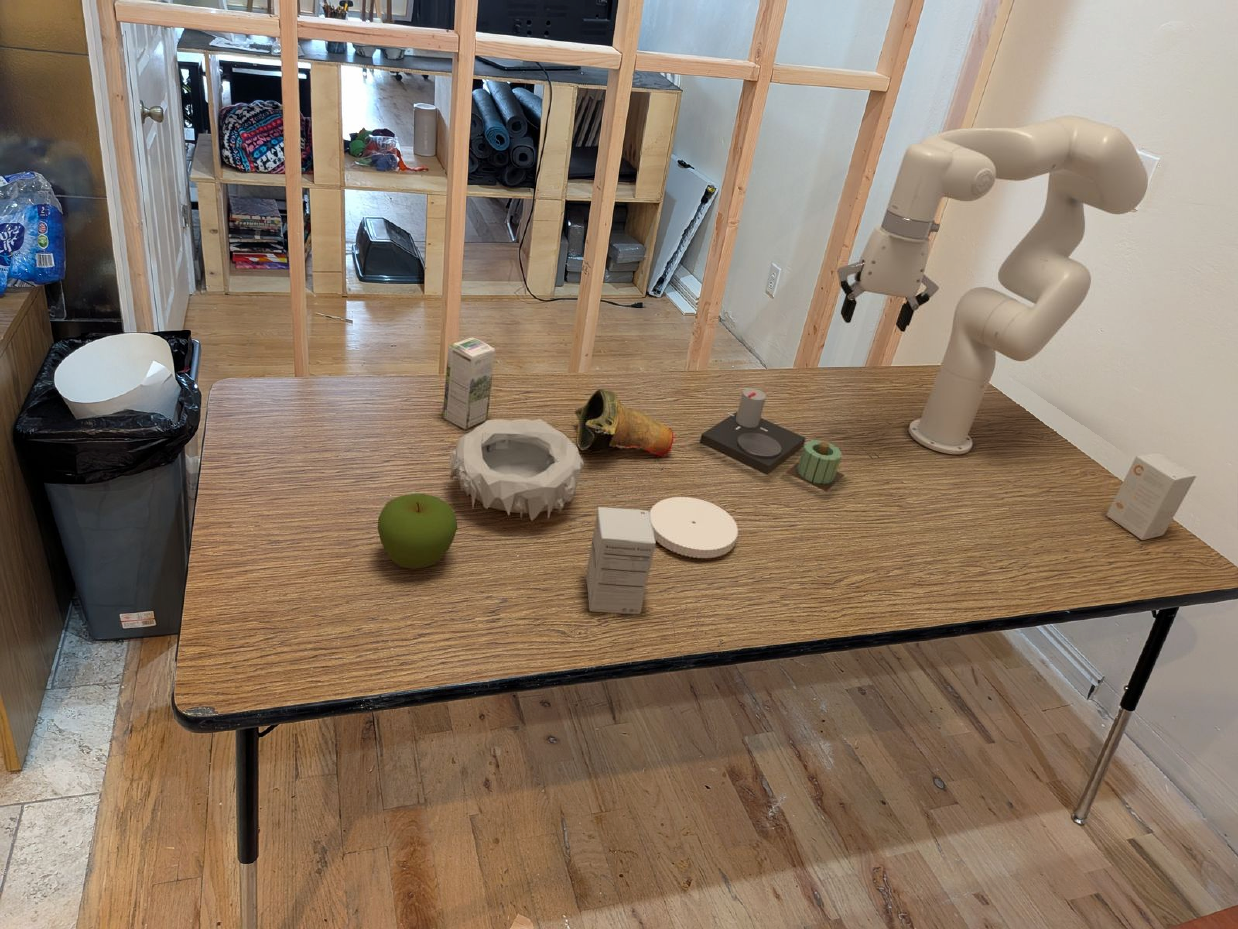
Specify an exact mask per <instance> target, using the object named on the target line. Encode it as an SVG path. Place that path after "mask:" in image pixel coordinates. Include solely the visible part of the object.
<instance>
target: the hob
mask: <svg viewBox="0 0 1238 929" xmlns="http://www.w3.org/2000/svg"><path fill="white" fill-rule="evenodd" d="M737 412H738V410H737V411H736V412H735V413H733V414H732V413H731V412H726V414H727V415H729V416H728V417H726V418H724V419H723V420H722V421H720V422H718V423H717V424H715V425H713V426H712V427H711V428H709V429H708V430H706V431H704V432H702V433H701V435H700V439H699V444H702V445H703V446H705V447H707V448H709V449H712V450H714V451H716V452H718V453H719V454H722V455H724V456H726V457H728V458H731V459H733V460H735V461H737V462H739V463H740V464H743V465H745V466H747V467H749V468H751V469H754V470H755V471H758V472H760V473H762V474H764V475H766V476H767V475H769V474H770V473H772V472H773V471H774V470H775V469H777V468H778V467H779V466H780V465H781V464H783V463H784V462H785V461H787V460H788V459H789V458H791V457H792V456H793V455H794V454H796V453H797V452H798V451H800V450H801V449H803V447H804V444H805V443H806V439H807V438H806V437H805V436H803V435H801V434H798V433H796V432H794V431H791V430H789V429H787V428H784V427H783V426H781V425H778V424H776V423H774V422H772V421H769V420H767V419H764V418H762V417H761V418H760V422H759V425H758V426H757V427H755V428H747V427H744V426H741V425H739V424H738V423H737V422H736V416H737ZM745 433H759V434H763V435H766V436H769V437H771V438H773V439H774V440H776V441H777V442H778V443H779V444H780V445H781V453H780V455H779V456H777V457H775V458H770V459H764V458H758V457H754V456H751V455H749V454H747V453H745V452H743V451H742V450H741V449H740V448H739V447H738V445H737V440H738V437H739V436H740V435H742V434H745Z"/></svg>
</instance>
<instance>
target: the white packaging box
mask: <svg viewBox="0 0 1238 929" xmlns="http://www.w3.org/2000/svg"><path fill="white" fill-rule="evenodd" d="M649 512H650V510H646V509H645V510H644V509H632V508H621V507H620V508H619V507H605V506H603V507H602V506H598V507H597V512H596V517H595V523H594V529H593V535H592V540H591V545H590V550H589V557H588V562H587V568H586V574H585V581H586V587H587V589H586V590H587V599H588V600H587V601H588V611H589V612H595V613H607V614H609V613H611V614H623V615H627V614H628V615H640V614H641V613H642V609H643V608H642V607H643V602H644V599H645V594H646V588H647V584H648V581H649V576H650V571H651V567H652V562H653V559H654V553H655V549H656V548H655V547H656V542H657V540H655V537H654V532H653V527H652V523H651V518H650V513H649Z"/></svg>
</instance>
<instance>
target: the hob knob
mask: <svg viewBox="0 0 1238 929" xmlns="http://www.w3.org/2000/svg"><path fill="white" fill-rule="evenodd" d="M766 399H767V395H766V393H765V392H763V391H761V390H759V389H756V388H746V389H743V390H742V393H741V397H740V401H739V405H738V408H737V411H738V412H737V411H736V412H737V416H736V422H737V423H738V424H739V425H741V426H744V427H747V428H755V427H757V426H758V425H759V422H760V418H762V414H763V411H764V406H765V403H766Z"/></svg>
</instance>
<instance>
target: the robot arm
mask: <svg viewBox="0 0 1238 929" xmlns="http://www.w3.org/2000/svg"><path fill="white" fill-rule="evenodd" d="M1046 174H1048V180H1047V193H1046V199H1045V204H1044V208H1043V211H1042V213H1041V215H1040V217H1039V218H1038V220H1037V222H1036V223H1034V225H1033V226H1032V227H1031V229H1030V230H1029V231H1028V232H1027V233H1026V234H1025V236H1024V237H1023V238H1022V239H1021V240H1020V242H1018V244H1017V245H1016V246H1015V247H1014V248H1013V250H1011V252H1010V253H1009V255H1008V256H1007V257H1006V258H1005V260H1004V261H1003V262H1002V263H1001V265H1000V267H999V268H998V273H997V280H998V282H999V284H1000V285H1001V286H1002V287H1003V288H1005V289H1006V290H1007V291H1009V292H1011V293H1012V294H1014V295H1017V296H1018V297H1020V298H1022V299H1024V300H1026V301H1028V302H1031V303H1033V306H1029V305H1027V304H1025V303H1023V302H1021V301H1019V300H1018V299H1016V298H1014V297H1011V296H1009V295H1007V294H1005V293H1003V292H1001V291H999V290H997V289H995V288H990V287H987V286H977V287H974V288H970V289H969V290H968V291H966V292H964V294H962V296H961V297H960V298H959V300H958V302H957V304H956V306H955V310H954V313H953V319H952V327H951V333H950V337H949V340H948V343H947V347H946V350H945V352H944V355H943V358H942V360H941V362H940V365H939V369H938V371H937V374H936V376H935V379H934V382H933V385H932V387H931V389H930V393H929V395H928V398H927V401H926V404H925V406H924V409H923V412H922V414H921V417H920V418H918V419H915V420H913V421H911V422H910V424H909V427H908V433H909V435H910V437H911V438H912V439H913V440H914V441H915V442H917V443H918V444H920V445H922V446H924V447H925V448H927V449H930V450H932V451H934V452H937V453H942V454H947V455H964V454H967V453H969V452H970V451H971V449H972V447H973V440H972V438H971V437H970V436H969V433H970V430H971V428H972V425H973V423H974V421H975V418H976V415H977V413H978V411H979V408H980V406H981V403H982V402H983V398H984V396H985V393H986V390H987V388H988V386H989V383H990V382H991V379H992V377H993V374H994V372H995V368H996V362H997V356H996V354H997V353H999V354H1001V355H1003V356H1005V357H1006V358H1009V359H1011V360H1013V361H1016V362H1027V361H1028V360H1031V359H1033V358H1034V357H1036V355H1038V354H1039V353H1041V351H1042V350H1043V349H1044V348H1045V347H1046V345H1048V343H1049V342H1050V341H1051V340H1052V339H1053V338H1054V336H1055V335H1056V334H1057V333H1058V332H1059V331H1060V330H1061V329H1062V328H1063V326H1064V325H1065V324H1066V323H1067V322H1068V321H1069V319H1070V318H1071V317H1072V316H1073V315H1074V314H1075V312H1076V311H1077V310H1078V309H1079V307H1080V306H1081V305H1082V303H1083V302H1084V300H1085V299H1086V297H1087V295H1088V294H1089V290H1090V287H1091V284H1092V283H1091V282H1092V276H1091V272H1090V270H1089V269H1088V268H1087V267H1086V265H1084V264H1083V263H1081V262H1079V261H1077V260H1075V259H1073V258H1070V256H1071V255H1072V254H1073V253H1074V251H1075V250H1076V249H1077V247H1078V246H1079V245H1080V243H1081V242H1082V241H1083V238H1084V236H1085V232H1086V216H1085V209H1084V204H1085V205H1087V206H1089V207H1092V208H1095V209H1097V210H1100V211H1103V212H1105V213H1108V214H1111V215H1124V214H1128V213H1130V212H1131V211H1133V210H1135V208H1137V207H1138V206H1139V205H1140V204H1141V202H1142V201H1143V199H1144V197H1145V195H1146V193H1147V190H1148V186H1149V177H1148V172H1147V169H1146V167H1145V165H1144V163H1143V162H1142V159H1141V156H1140V155H1139V153H1138V151H1137V150H1136V148H1135V146H1134V144H1133V142H1132V141H1131V139H1130V138H1129V137H1128V135H1127V134H1126V133H1125V132H1123V131H1122V129H1119V128H1117V127H1115V126H1112V125H1108V124H1106V123H1102V122H1099V121H1095V120H1092V119H1089V118H1087V117H1086V118H1085V117H1082V116H1079V115H1062V116H1058V117H1054V118H1050V119H1046V120H1043V121H1038V122H1036V123H1032V124H1028V125H1024V126H1019V127H988V128H986V127H985V128H981V127H978V128H977V127H976V128H975V127H973V128H958V129H952V130H946V131H942V132H939V133H935V134H932V135H930V136H928V137H926V138H924V139H923V140H921V141H920V142H919V143H913V144H910V145H909V146H908V147H907V149H906V150H905V152H904V155H903V158H902V161H901V164H900V166H899V170H898V173H897V176H896V179H895V182H894V185H893V188H892V192H891V194H890V196H889V197H890V198H889V200H888V204H887V207H886V210H885V213H884V216H883V219H882V222H881V225H880V226H879V225H878V226H875V227H874V229H873V230H872V231H871V232H872V233H871V234H870V236H869V238H868V240H867V242H866V244H865V246H864V248H863V251H862V254H861V256H860V258H859V261H858V262H854V263H851V264H848V265H845V266H841V267H839V268H837V269H836V274H837V279H838V283H839V286H840V288H841V289H842V292H843V293H844V294H845V296H844V300H843V302H842V306H841V310H840V315H841V317H842V319H843V321H844V322H845V324H846V323H847V324H850V323H851V322H852V319H853V316H854V312H855V310H856V307H857V303H858V302H857V300H856V299H857V298H858V297H859V296H860V295H862V294H863V293H865V292H867V293H873V294H879V295H884V296H891V297H896V298H903V299H905V302H904V303H902V305H901V308H900V311H899V313H898V316H897V319H896V321H895V326H896V327H897V329H898V330H899V331H900V332H901V333H902V332H903V333H905V332H906V330H907V327H909V326H910V324H911V321H912V319H913V316H914V313H915V311H917V310H918V309H919V308H920V307H921V306H923V305H924V304H926V303H927V302H929V301H930V298H932V297H934V295H935V294H936V293H937V292H938V290H939V288H940V287H939V285H937V283H936V282H934V280H932V279H931V278H930V277H928V276H927V275H926V274H925V272H926V267H927V264H928V259H929V258H928V257H929V253H930V245H931V239H930V238H929V237H930V235H931V233H938V232H939V230H940V227H941V226H940V224H939V223H936V221H935V218H936V215H937V212H938V209H939V207H940V204H941V200H942V199H943V198H948V199H952V200H955V201H960V202H973V201H976V200H977V201H978V200H979V199H981V198H983V197H984V196H986V195H987V194H988V193H989V192H990V191H991V189H992V188H993V186H994V184H995V182H996V180H1004V181H1017V182H1020V181H1026V180H1029V179H1033V178H1036V177H1039V176H1043V175H1046ZM851 275H854V277H853V279H854V281H853V282H852V283H851V284H849V281H848V277H849V276H851ZM921 284H922V285H924V286H925V289H924V291H922V292H920V293H919V290H920V288H921Z"/></svg>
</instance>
